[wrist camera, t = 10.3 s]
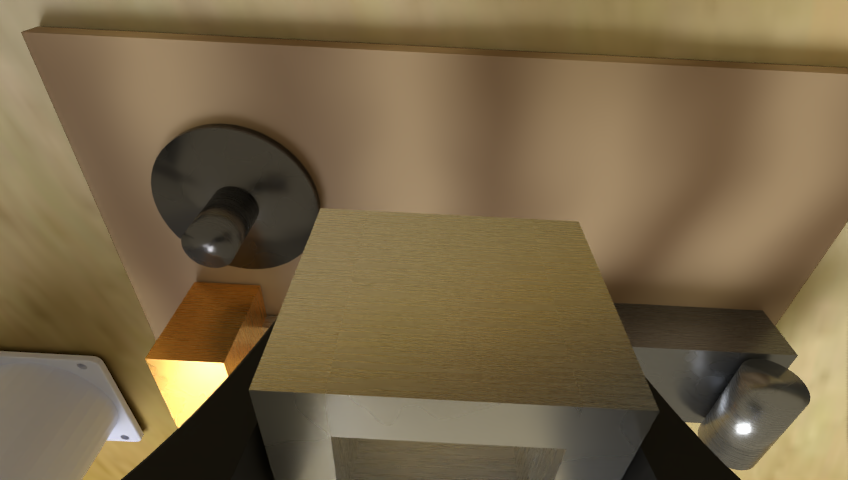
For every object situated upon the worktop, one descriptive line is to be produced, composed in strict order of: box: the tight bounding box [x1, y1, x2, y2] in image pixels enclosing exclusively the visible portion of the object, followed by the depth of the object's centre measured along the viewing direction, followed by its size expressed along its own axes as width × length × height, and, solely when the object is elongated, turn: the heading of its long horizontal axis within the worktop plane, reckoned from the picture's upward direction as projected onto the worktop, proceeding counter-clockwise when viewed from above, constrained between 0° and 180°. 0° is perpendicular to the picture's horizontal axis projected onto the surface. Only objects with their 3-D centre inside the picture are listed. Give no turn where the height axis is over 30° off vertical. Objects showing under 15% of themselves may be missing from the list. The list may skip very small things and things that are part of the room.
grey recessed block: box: [249, 208, 659, 480], centre depth 10 cm, size 5×5×4 cm
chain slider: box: [145, 282, 278, 428], centre depth 21 cm, size 18×5×4 cm, turn 88°
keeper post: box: [151, 124, 320, 269], centre depth 18 cm, size 6×6×3 cm
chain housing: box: [614, 303, 810, 470], centre depth 21 cm, size 10×5×5 cm, turn 88°
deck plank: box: [21, 27, 848, 341], centre depth 20 cm, size 30×16×1 cm, turn 88°
